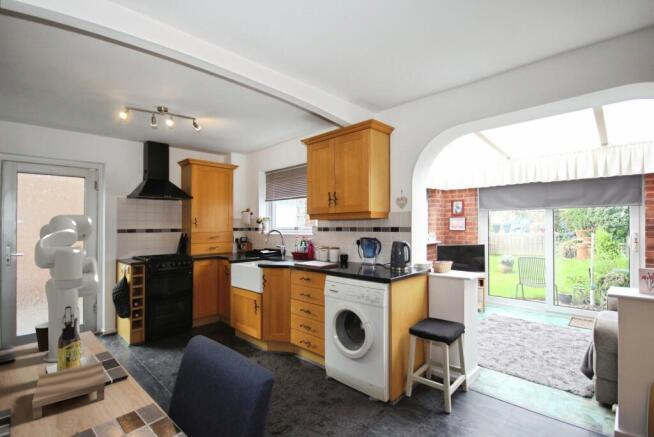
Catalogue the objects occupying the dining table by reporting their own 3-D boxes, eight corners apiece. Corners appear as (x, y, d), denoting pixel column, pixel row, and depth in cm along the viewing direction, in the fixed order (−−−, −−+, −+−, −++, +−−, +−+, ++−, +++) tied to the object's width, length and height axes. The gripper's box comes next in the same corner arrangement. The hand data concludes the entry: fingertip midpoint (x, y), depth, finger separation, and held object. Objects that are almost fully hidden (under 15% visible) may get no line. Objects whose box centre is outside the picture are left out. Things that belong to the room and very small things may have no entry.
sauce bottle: (66, 381, 106) (66, 322, 105) (51, 379, 107) (51, 320, 106) (85, 371, 112) (85, 316, 112) (71, 369, 113) (70, 314, 113)
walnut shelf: (39, 391, 100) (39, 375, 100) (101, 375, 109) (101, 361, 109) (32, 420, 85) (32, 401, 85) (104, 399, 95) (104, 382, 95)
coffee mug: (39, 354, 126) (39, 329, 126) (31, 349, 131) (31, 325, 131) (74, 344, 136) (74, 321, 136) (66, 340, 141) (66, 317, 141)
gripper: (56, 281, 114) (56, 331, 114) (52, 290, 100) (52, 347, 100) (82, 279, 118) (82, 327, 118) (82, 286, 105) (82, 341, 105)
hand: (68, 336), depth 109 cm, fingers closed on sauce bottle, 5 cm apart
